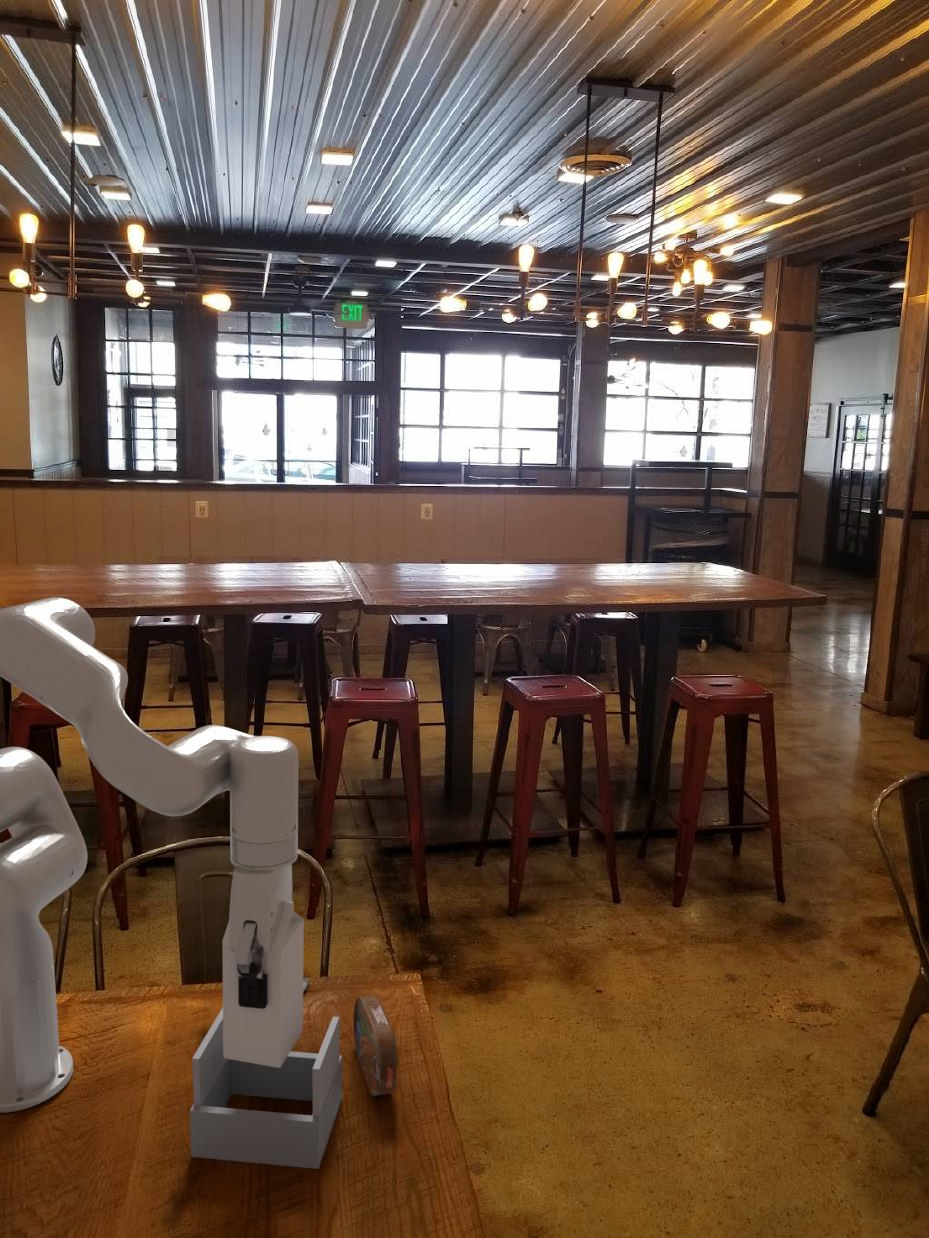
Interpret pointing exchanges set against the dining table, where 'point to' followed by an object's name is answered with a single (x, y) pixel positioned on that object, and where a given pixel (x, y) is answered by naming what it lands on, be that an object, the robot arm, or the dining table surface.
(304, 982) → the pen
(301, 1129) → the flap box
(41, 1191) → the dining table surface
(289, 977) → the milk carton
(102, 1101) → the dining table surface
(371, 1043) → the tin
